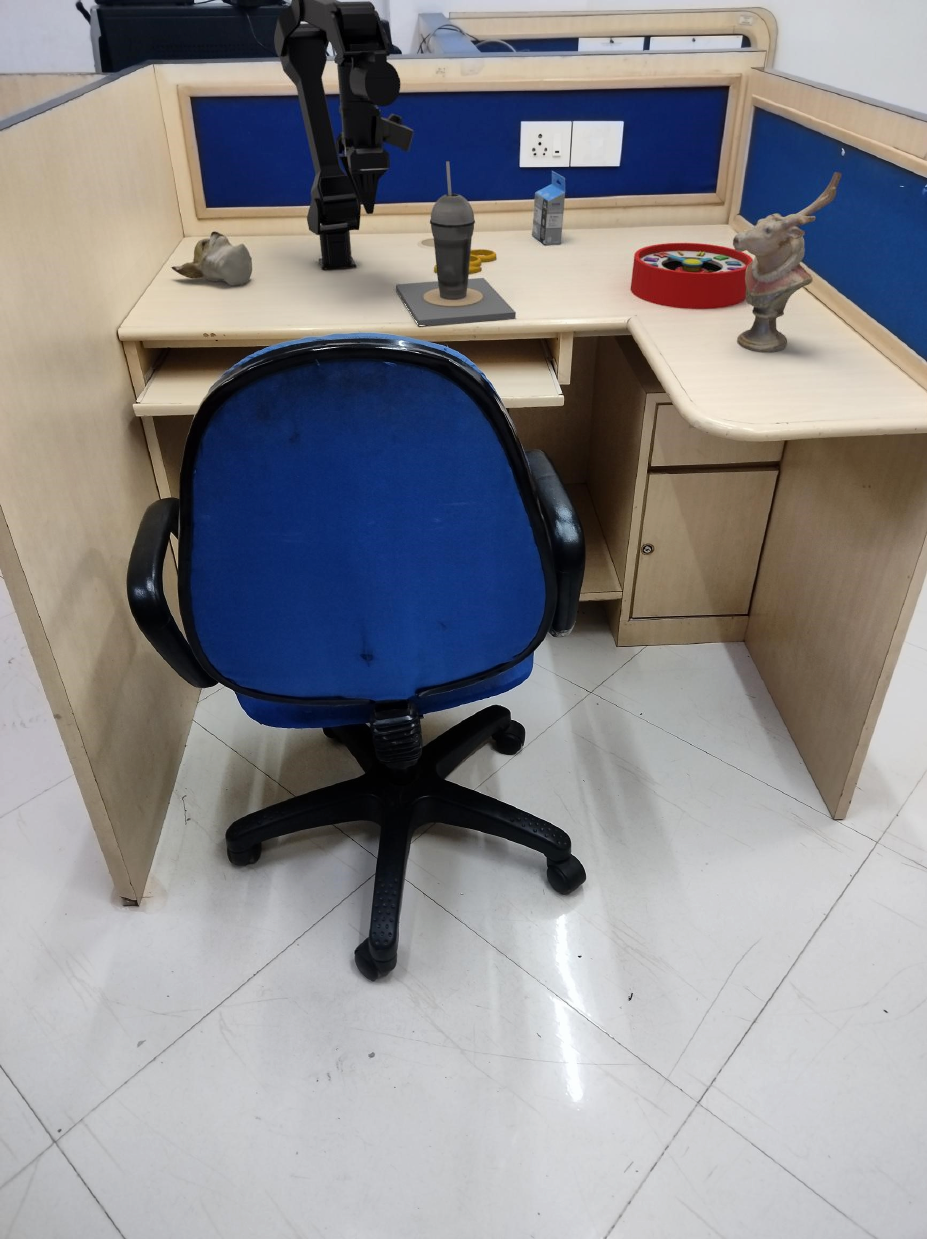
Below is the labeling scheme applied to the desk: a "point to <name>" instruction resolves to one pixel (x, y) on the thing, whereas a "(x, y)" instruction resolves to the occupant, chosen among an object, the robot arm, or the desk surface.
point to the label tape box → (549, 212)
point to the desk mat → (454, 303)
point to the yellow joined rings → (478, 260)
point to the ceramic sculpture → (218, 261)
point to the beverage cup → (452, 242)
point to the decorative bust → (775, 270)
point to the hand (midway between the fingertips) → (365, 207)
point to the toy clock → (690, 275)
